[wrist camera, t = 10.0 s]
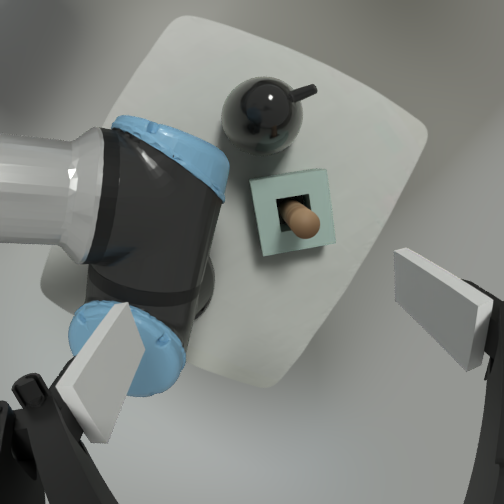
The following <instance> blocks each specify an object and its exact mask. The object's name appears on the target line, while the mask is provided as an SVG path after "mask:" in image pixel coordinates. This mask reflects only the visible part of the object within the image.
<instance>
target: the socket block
mask: <svg viewBox="0 0 504 504" xmlns="http://www.w3.org/2000/svg"><path fill="white" fill-rule="evenodd" d="M249 183H250V189H251V195H252V200H253V206H254V212H255V217H256V223H257V229H258V234H259V240H260V246H261V250H262V253H263V256H269V255H274V254H279V253H285V252H290V251H296V250H301V249H307V248H312V247H318V246H323V245H329V244H334V243H336V240H335V230H334V222H333V213H332V205H331V198H330V190H329V183H328V176H327V169H310V170H304V171H297V172H290V173H284V174H278V175H272V176H266V177H260V178H254V179H249ZM298 195H302V197H303V204H304V206H305V207H307V208H308V209H310V210H311V211H313V212H314V213H315V214H316V215H317V216H318V217H319V220H320V229H319V231H318V233H317V234H316V235H315V236H314V237H312V238H309V239H302V238H299V237H297V236H296V235H295V234H294V232H293V231H292V230H291V229H290V227H289V226H288V225H287V223H285V224H280V223H279V217H278V210H277V204H276V199H280V198H286V197H292V196H298Z"/></svg>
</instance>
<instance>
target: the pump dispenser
mask: <svg viewBox="0 0 504 504" xmlns="http://www.w3.org/2000/svg"><path fill="white" fill-rule="evenodd" d="M316 93H317V88H316V86H315V85H314V84H311V85H308V86H304V87H301V88H298V89H295V90H294V89H293V88H292V87H291V86H289V85H288V84H287V83H285V82H284V81H282V80H279V79H277V78H273V77H255V78H251V79H249V80H246V81H244V82H242V83H241V84H239V85H238V86H237V87H235V88H234V89H233V90H232V91H231V93H230V94H229V95H228V97H227V98H226V100H225V102H224V105H223V108H222V115H221V119H222V126H223V129H224V132H225V134H226V136H227V138H228V139H229V141H230V142H231V143H232V144H233V145H234V146H235V147H237V148H238V149H239V150H241V151H243V152H245V153H247V154H250V155H255V156H268V155H273V154H276V153H278V152H280V151H282V150H284V149H285V148H287V147H288V146H289V145H290V144H291V143H292V142H293V141H294V140H295V138H296V137H297V135H298V133H299V131H300V128H301V125H302V120H303V108H302V104H301V100H303V99H305V98H307V97H310V96H312V95H314V94H316Z"/></svg>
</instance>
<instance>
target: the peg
mask: <svg viewBox="0 0 504 504" xmlns="http://www.w3.org/2000/svg"><path fill="white" fill-rule="evenodd" d="M278 212H279V214H280V216H281V217H282V218H283V220H284V221H285V222H286V223H287V225H288V226H289V227H290V229H291V230H292V231H293V232H294V234H295V235H296V236H297V237H299V238H302V239H309V238H312V237H314V236H315V235H316V234H317V233H318V231H319V229H320V220H319V217H318V216H317V215H316V214H315V213H314V212H313V211H311V210H310V209H308V208H307V207H305V206H304V205H302V204H301V203H299V202H298V201H296V200H295V199H293V198H285V199H283V200H282V201H281V202H280V203H279V205H278Z"/></svg>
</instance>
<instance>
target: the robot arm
mask: <svg viewBox="0 0 504 504" xmlns="http://www.w3.org/2000/svg"><path fill="white" fill-rule="evenodd" d="M111 129H112V130H111ZM111 129H105V128H99V127H93V128H91V129H89V130H88V131H86V132H85V133H83V134H82V135H81V136H79V137H78V138H77V139H75V140H73V141H64V140H56V139H48V138H39V137H30V136H21V135H10V134H0V243H21V244H47V245H58V246H60V247H61V248H62V249H63V250H64V251H65V252H66V253H67V254H68V256H69V257H70V258H71V259H72V260H73V261H74V262H75V263H77V264H89V267H88V277H87V289H86V299H85V303H84V305H83V306H81V307H80V308H79V309H78V310H77V311H76V312H75V316H74V317H73V319H72V321H71V323H70V327H69V332H68V338H69V345H70V349H71V351H72V354H73V356H74V357H73V358H72V359H71V360H69V361H68V362H67V364H66V365H65V366H64V368H63V370H62V371H61V372H60V374H59V376H57V378H56V379H55V381H54V382H53V383H52V385H51V386H50V388H49V389H48V388H47V386H46V384H45V382H44V381H43V379H42V377H41V376H40V374H37V373H30V374H27V375H25V376H23V377H21V378H20V379H18V380H17V381H16V382H15V383H14V385H13V386H12V391H13V393H14V395H15V397H16V398H17V400H18V401H19V403H20V405H21V406H22V408H23V409H18V410H12V409H11V407H10V406H9V404H8V403H7V402H6V401H0V504H45V493H46V495H47V498H48V501H49V504H118V502H117V501H116V499H115V497H114V496H113V494H112V493H111V491H110V490H109V488H108V486H107V485H106V483H105V481H104V480H103V478H102V476H101V475H100V473H99V471H98V469H97V468H96V466H95V464H94V462H93V460H92V459H91V457H90V455H89V453H88V451H87V449H86V447H85V446H84V444H83V442H82V441H81V440H80V438H81V436H82V434H83V432H84V434H85V435H86V436H87V438H88V439H89V441H90V442H91V443H108V442H109V439H110V436H111V433H112V431H113V428H114V426H115V423H116V420H117V418H118V415H119V413H120V410H121V408H122V405H123V403H124V400H125V398H126V395H127V396H133V397H148V396H152V395H154V394H157V393H162V392H164V391H166V390H167V389H169V388H170V387H171V386H172V385H173V384H174V383H175V382H176V381H177V379H178V377H179V375H180V372H181V370H182V369H183V368H184V366H185V363H186V350H187V345H188V341H189V337H190V333H191V329H192V325H193V321H194V320H195V319H196V318H198V317H199V316H200V315H201V314H202V313H203V312H204V311H205V309H206V308H207V306H208V304H209V302H210V300H211V298H212V295H213V290H214V283H215V274H214V268H213V265H212V262H211V259H210V257H209V252H210V248H211V244H212V240H213V236H214V232H215V228H216V224H217V220H218V216H219V212H220V208H221V204H224V202H225V195H224V193H225V188H226V184H227V179H228V175H229V162H228V159H227V157H226V156H225V154H224V153H223V152H222V151H221V150H220V149H218V148H217V147H215V146H214V145H212V144H210V143H208V142H206V141H204V140H202V139H200V138H198V137H195V136H193V135H191V134H188V133H186V132H183V131H181V130H178V129H175V128H172V127H169V126H166V125H163V124H157V123H155V122H152V121H149V120H146V119H143V118H139V117H135V116H129V115H121V116H118V117H117V118H116V120H115V122H113V123H112V127H111ZM394 269H395V301H396V302H397V303H398V304H399V305H400V306H401V307H402V308H403V309H404V310H405V311H406V312H407V313H408V314H409V315H410V316H412V318H413V319H415V320H416V321H417V322H418V323H419V324H420V325H421V326H422V327H423V328H424V329H425V330H426V331H427V332H428V333H429V334H430V335H431V336H432V337H433V338H434V339H435V340H436V341H437V342H438V343H439V344H440V345H441V346H442V347H443V348H444V349H445V350H446V351H447V352H448V353H449V354H450V355H451V356H452V357H453V358H454V360H455V361H456V362H457V363H458V364H459V365H460V366H461V367H462V368H463V369H464V370H465V371H466V372H467V371H470V370H472V369H474V368H476V367H478V366H480V365H481V364H482V359H483V355H484V351H485V352H486V353H487V354H488V355H489V356H490V359H489V363H488V367H487V371H486V374H485V378H484V380H487V386H486V396H485V405H484V413H483V420H482V427H481V432H480V438H479V443H478V448H477V453H476V458H475V463H474V467H473V472H472V475H471V479H470V483H469V487H468V490H467V494H466V497H465V500H464V504H504V301H501V300H500V299H498V298H497V297H495V296H494V295H492V294H490V293H489V292H487V291H485V290H484V289H482V288H479V286H478V285H476V284H474V283H473V282H470V281H467V280H464V279H459V278H458V277H456V276H455V275H453V274H451V273H449V272H448V271H446V270H445V269H443V268H441V267H440V266H438V265H436V264H434V263H432V262H431V261H429V260H428V259H426V258H424V257H422V256H421V255H419V254H417V253H415V252H414V251H412V250H410V249H408V248H403V249H399V250H394ZM44 490H45V491H44Z"/></svg>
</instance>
